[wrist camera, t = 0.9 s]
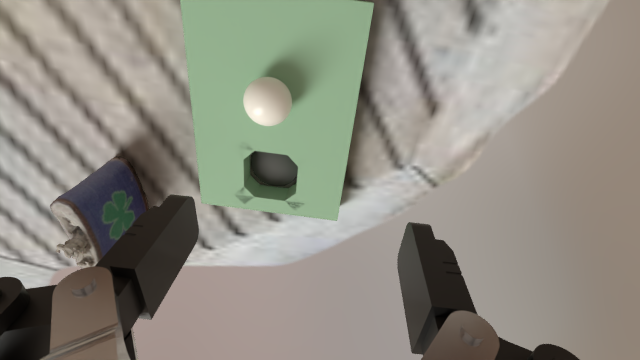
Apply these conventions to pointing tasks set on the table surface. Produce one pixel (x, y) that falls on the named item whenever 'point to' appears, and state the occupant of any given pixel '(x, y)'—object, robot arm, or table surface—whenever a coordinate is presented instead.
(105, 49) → the table surface
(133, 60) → the table surface
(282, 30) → the board
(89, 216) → the flask
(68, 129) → the table surface
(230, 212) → the table surface
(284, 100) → the ball
